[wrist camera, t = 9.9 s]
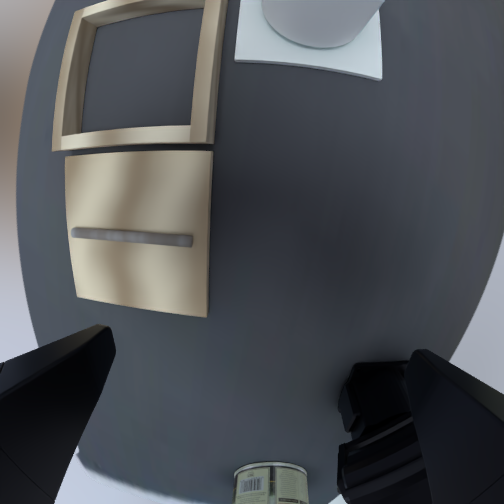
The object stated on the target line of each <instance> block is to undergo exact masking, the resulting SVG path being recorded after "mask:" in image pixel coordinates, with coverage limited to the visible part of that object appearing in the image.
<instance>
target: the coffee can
mask: <svg viewBox="0 0 504 504" xmlns="http://www.w3.org/2000/svg"><path fill="white" fill-rule="evenodd" d="M234 477H235V479H234V488H233V497H232V504H309V503H308V490H307V472H306V471H305V469H304V468H302V467H300V466H298V465H294V464H291V463H284V462H260V463H253V464H249V465H246V466H243V467H241V468H239V469H238V470H237V471H236V472H235V474H234Z"/></svg>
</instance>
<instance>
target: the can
mask: <svg viewBox="0 0 504 504" xmlns="http://www.w3.org/2000/svg"><path fill="white" fill-rule="evenodd" d="M384 1H385V0H262V10H263V13H264V16H265V18H266V19H267V21H268V22H269V24H270V25H271V26H272V27H273V28H274V29H275V30H276V31H277V32H279V33H280V34H281V35H283V36H285V37H286V38H288V39H290V40H292V41H295V42H297V43H300V44H303V45H307V46H312V47H322V48H327V47H336V46H340V45H344V44H346V43H348V42H350V41H352V40H353V39H355V38H356V37H357V36H358V35H359V34H360V32H361V31H362V30H363V28H364V27H365V26H366V24H367V23H368V22H369V21H370V19H371V18H372V17H373V15H374V14H375V13H376V11H377V10H378V9H379V8H380V6H381V5H382V4H383V3H384Z"/></svg>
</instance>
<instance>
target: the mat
mask: <svg viewBox="0 0 504 504" xmlns="http://www.w3.org/2000/svg"><path fill="white" fill-rule="evenodd" d="M235 62H245V63H266V64H280V65H290V66H299V67H307V68H315V69H321V70H328V71H334V72H339V73H345V74H350V75H354V76H359V77H364V78H368V79H372V80H376V81H380V80H382V50H381V31H380V18H379V9H378V10H377V11H376V13H375V14H374V15H373V17H372V18H371V19H370V21H369V22H368V23H367V24H366V26H365V27H364V28H363V30H362V31H361V32H360V34H359V35H358V36H357V37H356V38H355V39H353V40H352V41H350V42H348V43H346V44H344V45H340V46H336V47H327V48H322V47H312V46H307V45H303V44H300V43H297V42H295V41H292V40H290V39H288V38H286V37H285V36H283V35H281V34H280V33H279V32H277V31H276V30H275V29H274V28H273V27H272V26H271V25H270V24H269V22H268V21H267V19H266V18H265V16H264V13H263V10H262V0H241V4H240V12H239V21H238V30H237V40H236V49H235Z"/></svg>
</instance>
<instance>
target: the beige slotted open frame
mask: <svg viewBox="0 0 504 504" xmlns="http://www.w3.org/2000/svg"><path fill="white" fill-rule="evenodd" d="M227 7H228V0H108V1H104V2H101V3H98V4H95V5H92V6H89V7H86V8H84V9H81V10H78V11H76V12H75V14H74V17H73V20H72V24H71V27H70V31H69V34H68V38H67V42H66V47H65V51H64V55H63V60H62V65H61V70H60V76H59V82H58V89H57V96H56V104H55V113H54V124H53V139H52V151H68V150H79V149H88V148H99V147H111V146H126V145H147V144H214V137H215V123H216V110H217V98H218V87H219V76H220V66H221V56H222V47H223V38H224V30H225V22H226V14H227ZM197 8H204V13H203V20H202V26H201V33H200V40H199V48H198V55H197V64H196V72H195V82H194V92H193V102H192V114H191V125H186V126H155V127H138V128H125V129H114V130H105V131H96V132H88V133H81V126H82V114H83V104H84V95H85V88H86V81H87V74H88V68H89V63H90V57H91V52H92V48H93V43H94V39H95V34H96V30H97V27H100V26H103V25H107V24H111V23H114V22H118V21H122V20H127V19H131V18H136V17H141V16H146V15H151V14H157V13H163V12H170V11H178V10H186V9H197ZM212 169H213V151H136V152H116V153H101V154H88V155H78V156H68V157H65V196H66V214H67V227H68V237H69V246H70V254H71V262H72V268H73V275H74V281H75V286H76V292H77V297H81V298H86V299H91V300H96V301H101V302H107V303H112V304H118V305H123V306H129V307H135V308H141V309H148V310H154V311H161V312H168V313H175V314H183V315H190V316H199V317H207V315H208V312H209V242H210V211H211V188H212Z"/></svg>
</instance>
